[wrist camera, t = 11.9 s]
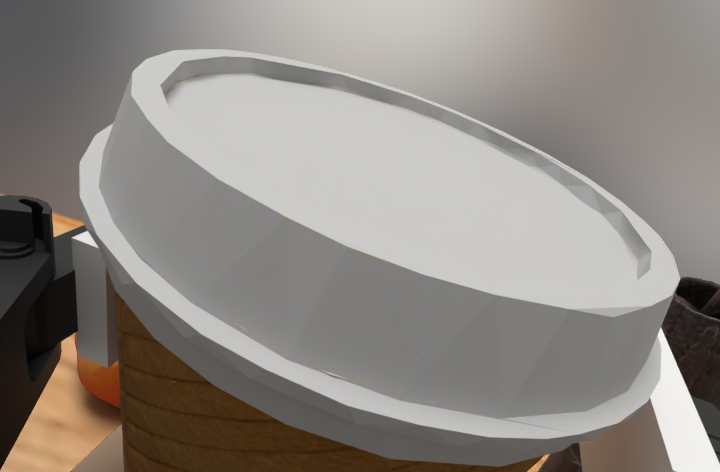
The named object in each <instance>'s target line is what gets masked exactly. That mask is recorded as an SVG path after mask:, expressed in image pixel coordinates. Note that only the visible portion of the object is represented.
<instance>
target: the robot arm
mask: <svg viewBox="0 0 720 472" xmlns="http://www.w3.org/2000/svg"><path fill="white" fill-rule="evenodd" d="M119 298H120V297H117V296H115V289H114V286H113V283H112V281H111V278H110V275H109V273H108V270H107V267H106V265H105V262H104V259H103V257H102V254H101V251H100V249H99V248H98V246H97V245H96V243H95V241H94V240H93V238H92V237H91V235H90V234H89V232H88V231H87V229H86V228H85V225H83V226H81V227H78V228H76V229H74V230H71V231H69V232H66V233H64V234H61V235H59V236H57V237H53V223H52V209H51V207H50V206H49V204H48V203H46V202H44V201H42V200H40V199H37V198H32V197H27V196H12V195H7V196H0V470H1V468H2V466H3V464H4V462H5V460H6V458H7V457H8V455H9V453H10V451H11V449H12V447H13V445H14V444H15V442H16V440H17V438H18V436H19V434H20V432H21V431H22V429H23V427H24V425H25V423H26V421H27V419H28V418H29V416H30V414H31V412H32V410H33V408H34V406H35V405H36V403H37V401H38V399H39V397H40V395H41V394H42V392H43V390H44V388H45V386H46V384H47V382H48V381H49V379H50V377H51V375H52V373H53V371H54V369H55V368H56V366H57V364H58V362H59V360H60V356H61V352H62V351H61V341H62V340H64V339H66V338H67V337H69V336H70V335H72V334H73V333H75V332H76V333H77V352H78V355H80V356H82V357H84V358H86V359H88V360H91V361H93V362H95V363H97V364H100V365H102V366H104V367H106V368H109V367H110V366H111V365H113V364H114V363H115V362H117V361H118V358H119V356H118V344H117V331H118V330H119V328H117V322H116V306H115V302H116V300H117V299H119ZM658 338H659V341H660V344H661V373H660V380H659V382H658V384H657V386H656V387H655V389H654V391H653V393H652V395H651V396H650V398H649V400H648V402H647V403H646V404H645V405H644V406H643V407H641V408H640V409H639V410H638V411H637V412H636V413H635V414H634V415H633V416H632V417H631V418H630V419H629V420H627V421H625V422H623V423H621V424H620V425H618V426H616V427H614V428H612V429H611V430H609V431H607V432H605V433H603V434H602V435H600V436H598V437H596V438H594V439H593V440H591V441H585V442H579V446H580V456H581V465H582V472H720V411H719V410H718V409H717V408H716V407H715V406H714V405H713V404H712V403H710V402H707V401H704V400H701V399H698V398H696V397H693V396H690V394H689V391H688V389H687V387H686V384H685V382H684V380H683V377H682V375H681V373H680V370H679V368H678V366H677V363H676V361H675V359H674V356H673V354H672V352H671V349H670V347H669V345H668V343H667V340H666V338H665V336H664V333H663V331H662V329H661V328H660V330H659V333H658Z"/></svg>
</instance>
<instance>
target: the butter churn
mask: <svg viewBox="0 0 720 472" xmlns="http://www.w3.org/2000/svg"><path fill="white" fill-rule="evenodd" d="M661 329H662V331H663V333H664V336H665V338H666V340H667V343H668V345H669V347H670V349H671V352H672V354H673V356H674V359H675V361H676V363H677V366H678V368H679V370H680V373H681V375H682V377H683V380H684V382H685V384H686V387H687V389H688V391H689V394H690V396H693V397H696V398H698V399H701V400H704V401H707V402H710V403H712V404H713V405H714V406H715V407H716V408H717V409H718V410H719V411H720V285H719V284H716V283H714V282H712V281H706V280H702V279H698V278H691V277H682V278H680V281H679V284H678V286H677V289H676V291H675V294H674V296H673V299H672V301H671V303H670V306H669V308H668V311H667V313H666V316H665V318H664V321H663V323H662V326H661ZM538 472H582V465H581V456H580V446H579V443H573V444H571V445H570V446H568V447H567V448H566V449H564V450H562V451H559V452H555V453H551V454H550V455H549V456H548V458H547V459H546V461H545V462H544V463H543V465H542V466H541V468H540V469H539V471H538Z"/></svg>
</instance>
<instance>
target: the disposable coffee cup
mask: <svg viewBox="0 0 720 472" xmlns="http://www.w3.org/2000/svg"><path fill="white" fill-rule="evenodd" d="M79 168H80V169H79V194H80V200H81V206H82V212H83V218H84V224H85V228H86V229H87V231H88V232H89V234H90V235H91V237H92V238H93V240H94V241H95V243H96V245H97V246H98V248H99V249H100V251H101V254H102V257H103V259H104V262H105V265H106V267H107V270H108V273H109V275H110V278H111V281H112V283H113V286H114V289H115V296H117V297H120V298H119V299H117V300H116V302H115V306H116V322H117V328H119V330H118V331H117V344H118V356H119V358H118V364H119V379H120V406H121V421H122V440H123V462H124V472H527V471H528V470H529V469H530V468H531V467H532V466H534V465H535V464H536V463H537V462H538V461H539V460H540V459H541V458H542V457H543V456H544V455H547V454H551V453H555V452H559V451H562V450H564V449H566V448H567V447H568V446H570V445H571V444H573V443H579V442H585V441H591V440H593V439H594V438H596V437H598V436H600V435H602V434H603V433H605V432H607V431H609V430H611V429H612V428H614V427H616V426H618V425H620V424H621V423H623V422H625V421H627V420H629V419H630V418H631V417H632V416H633V415H634V414H635V413H636V412H637V411H638V410H639V409H640V408H641V407H643V406H644V405H645V404H646V403H647V402H648V400H649V398H650V396H651V395H652V393H653V391H654V389H655V387H656V386H657V384H658V382H659V380H660V373H661V344H660V341H659V338H658V333H659V330H660V328H661V326H662V323H663V321H664V318H665V316H666V313H667V311H668V308H669V306H670V303H671V301H672V299H673V296H674V294H675V291H676V289H677V286H678V284H679V281H680V276H679V273H678V270H677V267H676V263H675V260H674V257H673V255H672V253H671V252H670V250H669V249H668V248H667V246H666V244H665V243H664V241H663V240H662V239H661V237H660V236H659V235H658V234H657V233H656V232H655V231H654V230H653V229H652V228H651V227H650V226H649V225H648V224H647V223H646V222H645V221H643V220H642V219H641V218H640V217H639V216H638V215H636V214H635V213H634V212H633V211H631V209H629V208H628V207H627V206H626V205H625V204H624V203H622V202H621V201H620V200H618V199H617V198H615V197H614V196H613V195H611V194H610V193H608V192H607V191H605V190H604V189H603V188H601V187H600V186H599V185H597V184H596V183H594V182H593V181H591V180H590V179H588V178H587V177H586V176H584V175H582V174H580V173H579V172H577V171H575V170H574V169H572V168H570V167H568V166H567V165H565V164H563V163H561V162H559V161H558V160H556V159H555V158H553V157H551V156H549V155H548V154H546V153H544V152H542V151H540V150H538V149H536V148H534V147H532V146H530V145H528V144H526V143H524V142H522V141H520V140H518V139H516V138H514V137H512V136H510V135H508V134H506V133H504V132H502V131H500V130H498V129H496V128H493V127H491V126H489V125H487V124H485V123H482V122H480V121H478V120H475V119H473V118H471V117H469V116H466V115H464V114H462V113H459V112H457V111H455V110H452V109H450V108H448V107H445V106H442V105H439V104H437V103H435V102H432V101H429V100H427V99H424V98H421V97H419V96H416V95H414V94H411V93H408V92H405V91H402V90H399V89H396V88H393V87H390V86H387V85H384V84H381V83H378V82H375V81H371V80H368V79H364V78H361V77H357V76H354V75H351V74H347V73H344V72H340V71H336V70H333V69H330V68H326V67H322V66H318V65H313V64H309V63H305V62H300V61H296V60H291V59H286V58H281V57H275V56H269V55H263V54H257V53H251V52H242V51H233V50H214V49H198V50H173V51H170V52H167V53H164V54H161V55H158V56H155V57H152V58H149V59H146V60H145V61H144V62H143V63H142V64H141V65H140V66H138V67H137V68H136V69H135V70H134V71H133V72H132V75H131V78H130V80H129V83H128V86H127V88H126V91H125V94H124V96H123V99H122V102H121V105H120V108H119V110H118V113H117V115H116V118H115V121H114V123H113V124H111V125H110V126H109V127H107V128H105V129H104V130H102V131H101V132H99V133H98V134H97V135H95V137H94V139H93V141H92V142H91V144H90V146H89V148H88V149H87V151H86V153H85V155H84V156H83V158H82V160H81V162H80V167H79Z"/></svg>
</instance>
